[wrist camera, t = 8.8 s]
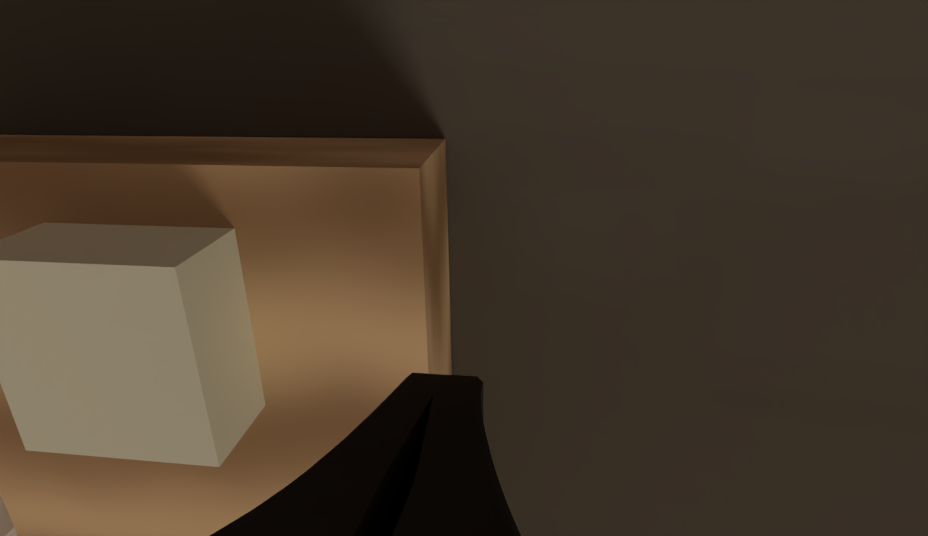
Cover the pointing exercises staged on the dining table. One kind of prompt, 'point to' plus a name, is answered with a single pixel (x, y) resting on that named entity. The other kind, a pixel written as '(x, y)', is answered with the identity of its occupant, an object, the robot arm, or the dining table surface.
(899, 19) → the dining table surface
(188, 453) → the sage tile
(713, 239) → the dining table surface
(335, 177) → the oak board
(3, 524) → the white tile
